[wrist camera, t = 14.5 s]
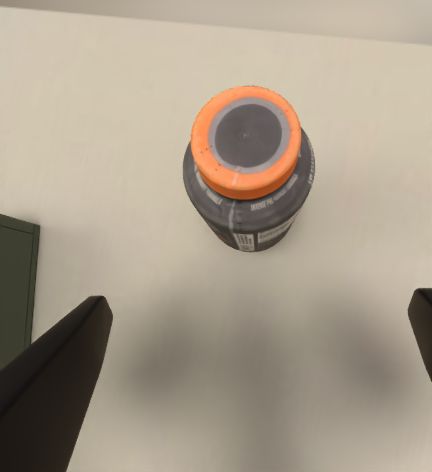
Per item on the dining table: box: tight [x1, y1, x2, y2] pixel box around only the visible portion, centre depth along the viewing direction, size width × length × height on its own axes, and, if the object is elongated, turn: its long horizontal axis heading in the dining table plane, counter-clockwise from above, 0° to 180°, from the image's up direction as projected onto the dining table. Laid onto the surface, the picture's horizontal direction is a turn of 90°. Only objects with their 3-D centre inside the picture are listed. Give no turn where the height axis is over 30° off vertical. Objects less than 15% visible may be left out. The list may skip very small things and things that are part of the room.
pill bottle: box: [183, 86, 315, 252], centre depth 16 cm, size 6×6×11 cm
